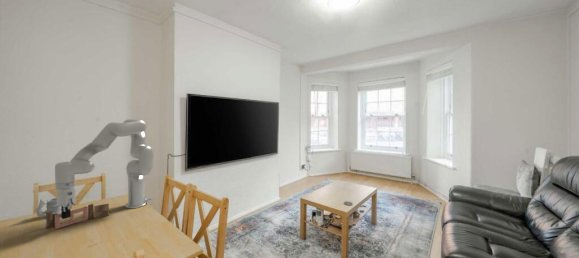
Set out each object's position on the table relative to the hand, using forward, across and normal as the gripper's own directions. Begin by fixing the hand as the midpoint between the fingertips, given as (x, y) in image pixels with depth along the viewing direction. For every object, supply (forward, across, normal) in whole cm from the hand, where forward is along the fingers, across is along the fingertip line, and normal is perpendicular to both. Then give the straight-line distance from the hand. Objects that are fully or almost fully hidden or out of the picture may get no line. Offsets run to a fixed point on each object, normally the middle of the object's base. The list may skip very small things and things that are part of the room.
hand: (66, 217), depth 123 cm
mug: (+6, +26, -2) cm, 26 cm away
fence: (+6, +4, -8) cm, 11 cm away
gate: (+5, +2, -3) cm, 7 cm away
